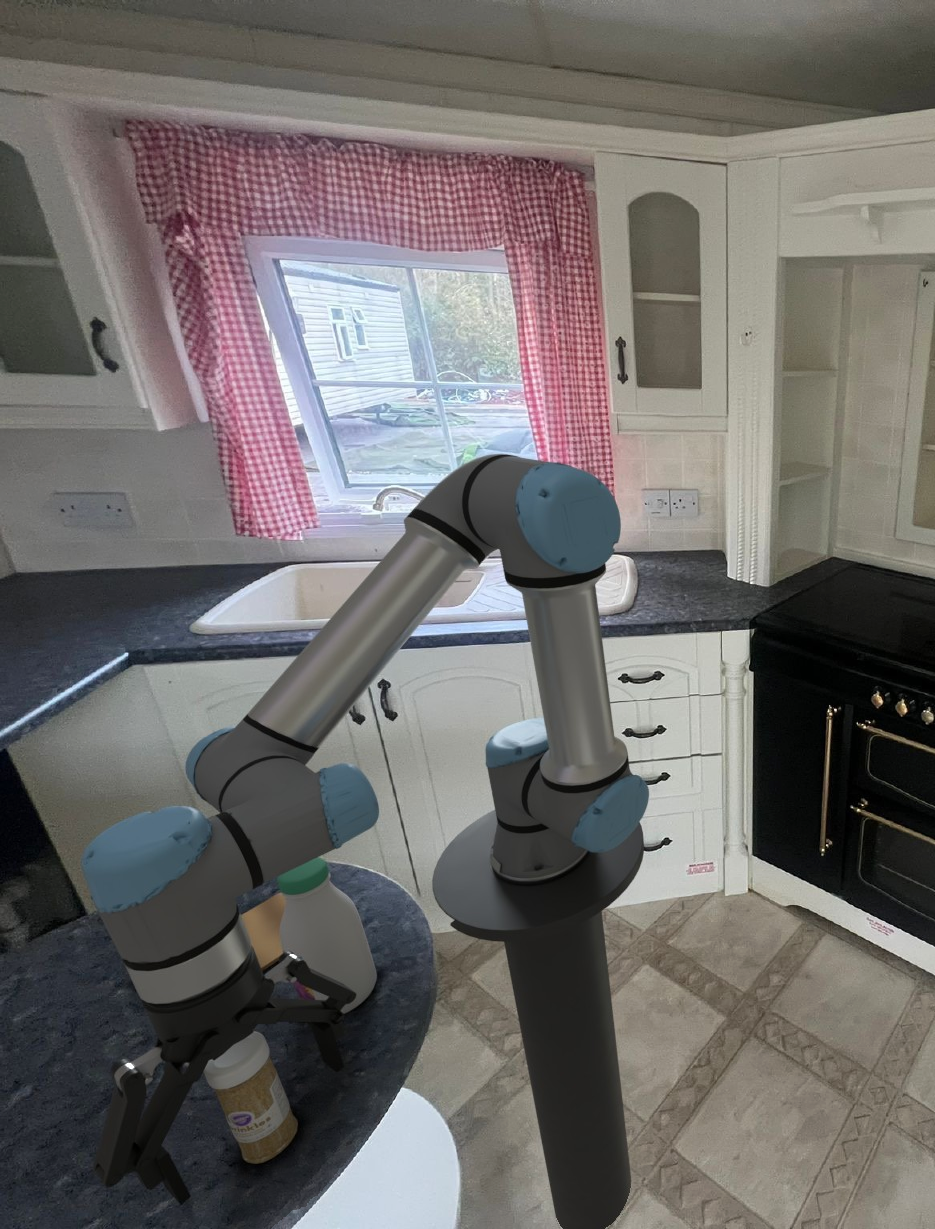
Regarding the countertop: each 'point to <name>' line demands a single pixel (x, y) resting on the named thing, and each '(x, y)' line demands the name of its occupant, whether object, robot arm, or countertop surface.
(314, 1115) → the countertop surface
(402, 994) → the countertop surface
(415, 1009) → the countertop surface
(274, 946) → the cork mat
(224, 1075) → the sprinkles bottle
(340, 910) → the milk bottle
